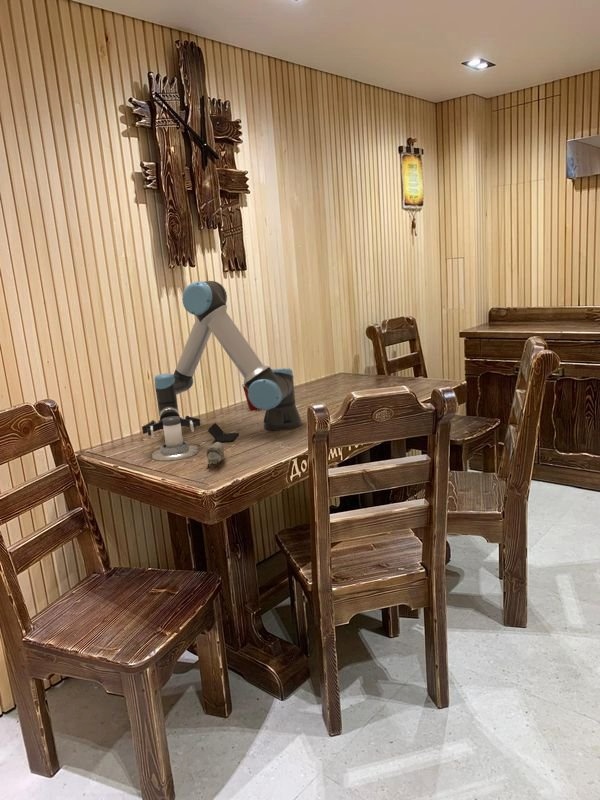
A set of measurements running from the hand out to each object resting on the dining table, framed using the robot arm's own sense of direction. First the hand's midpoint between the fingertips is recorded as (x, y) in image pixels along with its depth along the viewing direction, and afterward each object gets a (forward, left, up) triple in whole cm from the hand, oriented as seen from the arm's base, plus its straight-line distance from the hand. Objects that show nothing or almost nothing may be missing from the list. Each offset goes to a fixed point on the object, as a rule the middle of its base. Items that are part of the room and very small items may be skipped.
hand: (172, 430), depth 206 cm
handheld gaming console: (-5, -24, -10) cm, 26 cm away
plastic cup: (+9, -73, -9) cm, 74 cm away
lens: (+2, -3, -8) cm, 9 cm away
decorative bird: (-20, +4, -10) cm, 22 cm away
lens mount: (+2, -3, -9) cm, 10 cm away
